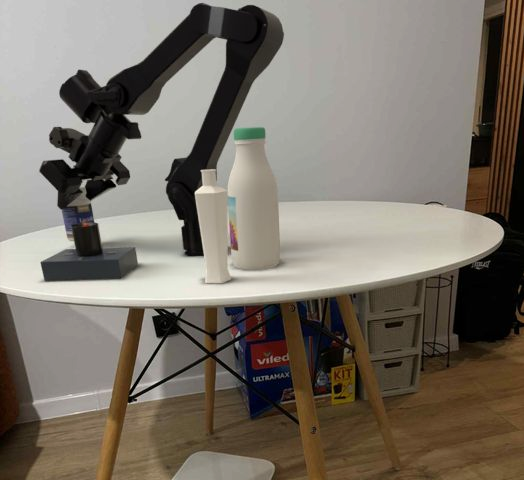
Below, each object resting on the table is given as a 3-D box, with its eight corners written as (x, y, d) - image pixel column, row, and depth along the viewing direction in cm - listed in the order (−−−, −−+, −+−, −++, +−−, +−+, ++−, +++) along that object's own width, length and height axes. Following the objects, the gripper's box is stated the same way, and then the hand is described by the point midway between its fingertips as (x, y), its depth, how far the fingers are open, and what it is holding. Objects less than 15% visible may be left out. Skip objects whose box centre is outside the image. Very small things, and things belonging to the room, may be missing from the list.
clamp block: (138, 264, 84) (135, 245, 82) (121, 278, 75) (117, 258, 74) (68, 266, 84) (64, 248, 83) (44, 281, 76) (39, 260, 75)
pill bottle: (88, 241, 98) (77, 188, 94) (62, 242, 99) (50, 189, 95) (102, 236, 103) (93, 185, 99) (77, 236, 104) (67, 186, 100)
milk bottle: (287, 260, 82) (284, 126, 74) (268, 271, 75) (262, 126, 67) (245, 257, 85) (237, 128, 77) (223, 268, 78) (212, 129, 70)
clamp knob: (74, 253, 80) (69, 222, 78) (100, 249, 81) (95, 219, 79) (78, 257, 76) (72, 225, 74) (105, 254, 78) (99, 222, 76)
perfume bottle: (207, 286, 69) (196, 171, 63) (197, 279, 73) (187, 170, 67) (237, 281, 71) (230, 169, 65) (227, 274, 75) (219, 168, 69)
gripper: (107, 111, 98) (76, 172, 107) (34, 108, 83) (3, 180, 91) (147, 151, 98) (112, 210, 107) (80, 157, 83) (45, 224, 91)
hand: (70, 205), depth 99 cm, fingers closed on pill bottle, 6 cm apart
